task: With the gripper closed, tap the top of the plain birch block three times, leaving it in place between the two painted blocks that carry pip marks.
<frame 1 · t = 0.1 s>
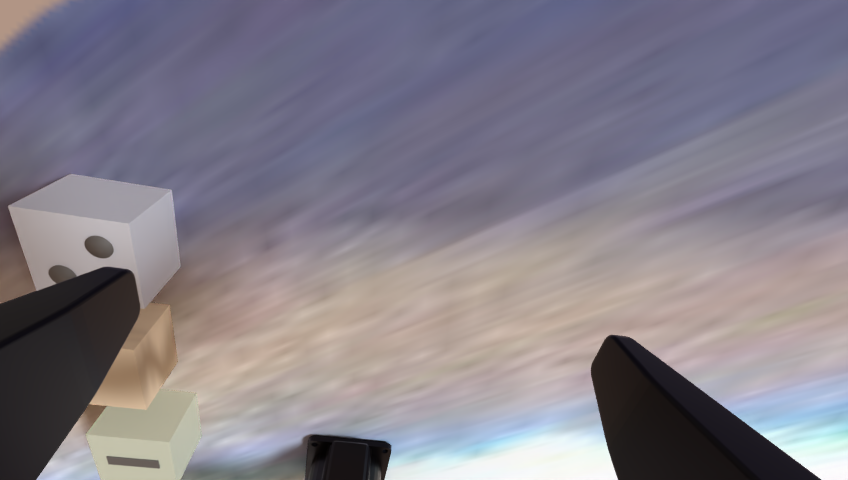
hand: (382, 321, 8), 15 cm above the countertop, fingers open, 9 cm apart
sage block one: (165, 410, 31), on the countertop
bluegrey block two: (130, 222, 23), on the countertop
birch block: (134, 328, 27), on the countertop
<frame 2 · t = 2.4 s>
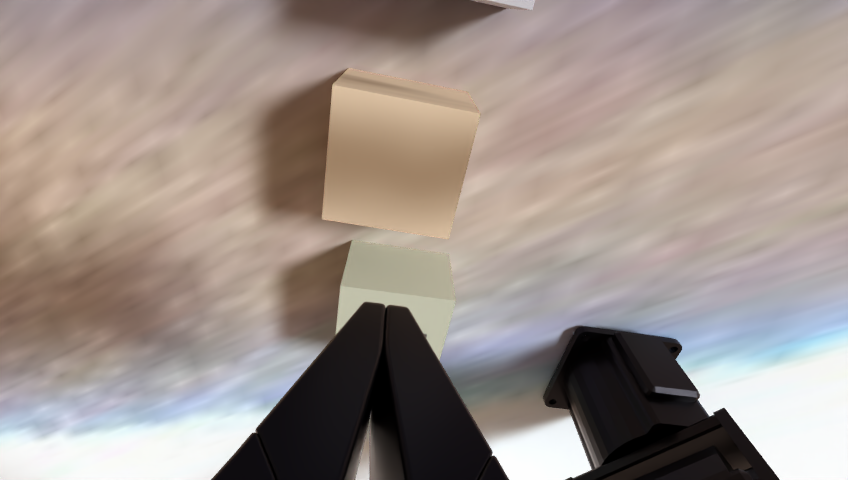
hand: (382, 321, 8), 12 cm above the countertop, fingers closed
sage block one: (394, 284, 23), on the countertop
birch block: (399, 137, 19), on the countertop
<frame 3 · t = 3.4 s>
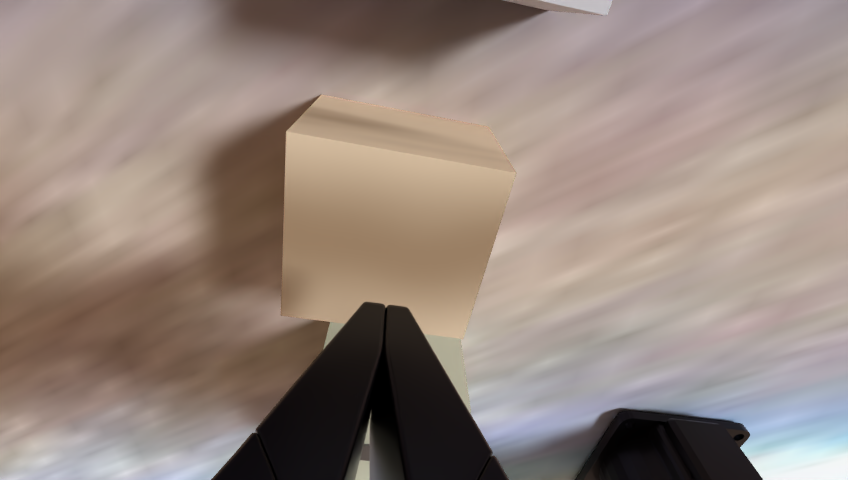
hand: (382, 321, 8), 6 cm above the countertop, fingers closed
sage block one: (388, 363, 18), on the countertop
birch block: (394, 186, 14), on the countertop
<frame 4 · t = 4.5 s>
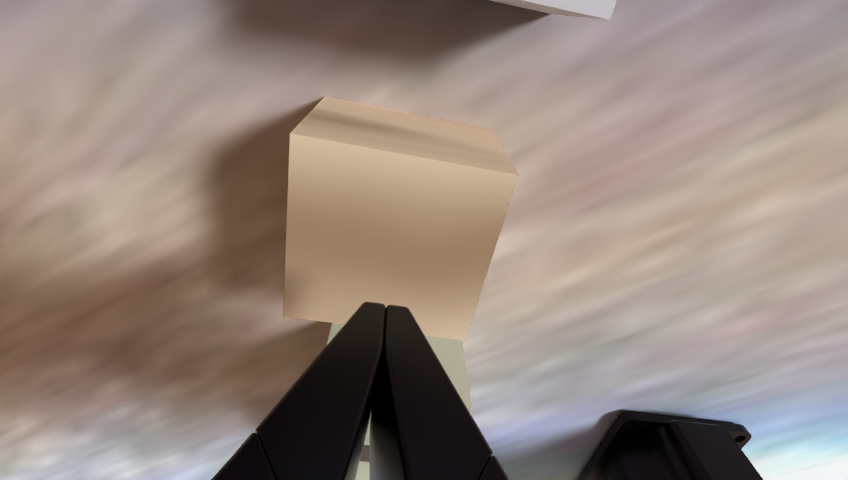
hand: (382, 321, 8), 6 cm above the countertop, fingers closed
sage block one: (390, 364, 18), on the countertop
birch block: (396, 188, 14), on the countertop
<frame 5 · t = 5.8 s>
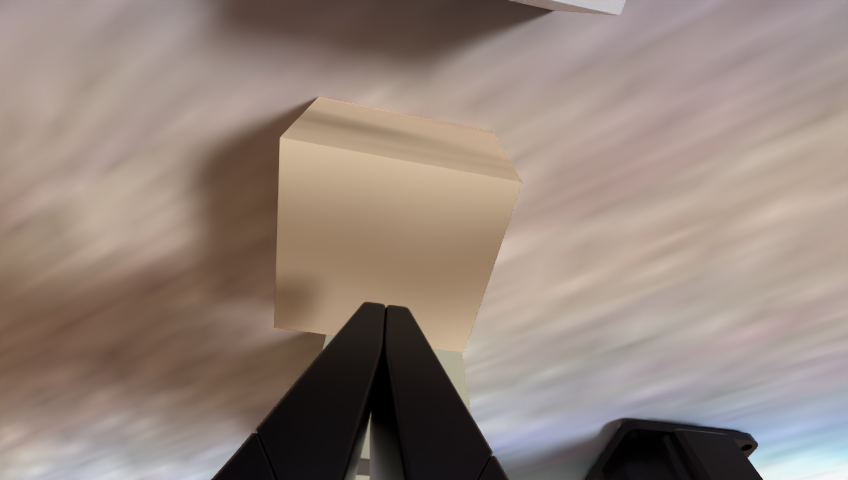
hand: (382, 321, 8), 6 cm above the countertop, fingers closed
sage block one: (387, 372, 17), on the countertop
birch block: (393, 192, 13), on the countertop
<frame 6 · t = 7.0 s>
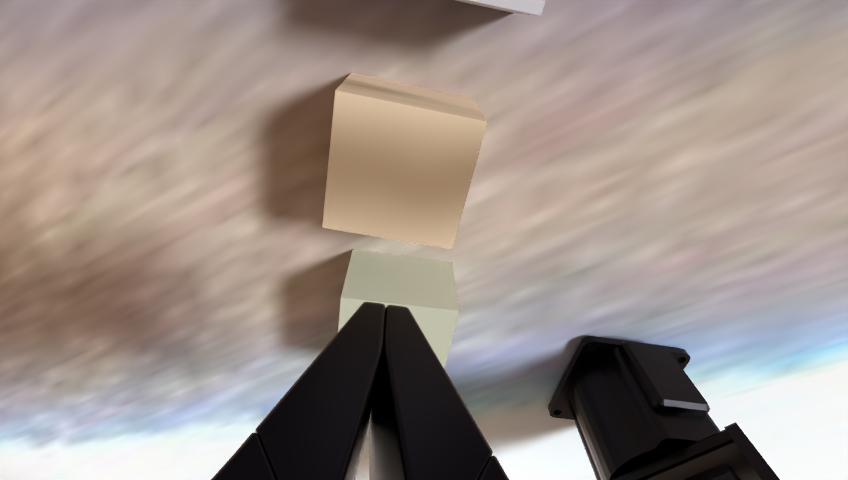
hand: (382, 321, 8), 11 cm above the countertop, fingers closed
sage block one: (396, 293, 22), on the countertop
birch block: (402, 144, 18), on the countertop
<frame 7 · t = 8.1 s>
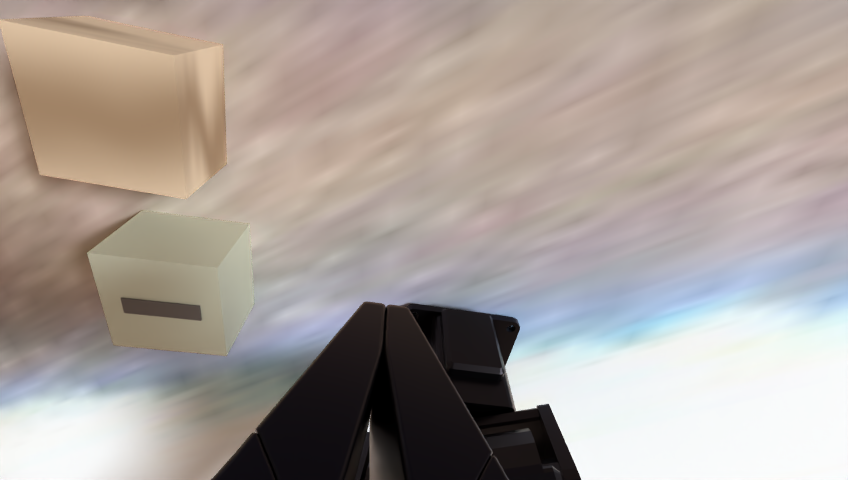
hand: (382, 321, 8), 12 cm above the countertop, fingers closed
sage block one: (203, 258, 21), on the countertop
birch block: (164, 95, 17), on the countertop
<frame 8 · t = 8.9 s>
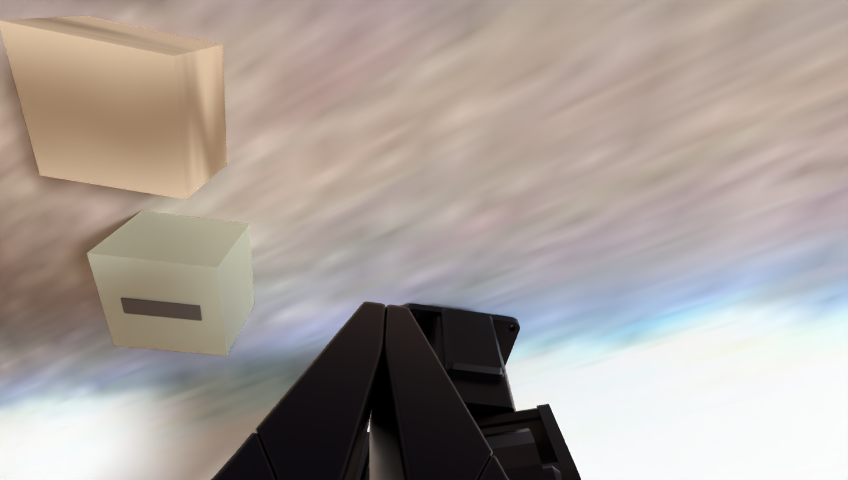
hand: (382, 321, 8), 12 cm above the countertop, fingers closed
sage block one: (203, 258, 21), on the countertop
birch block: (164, 95, 17), on the countertop
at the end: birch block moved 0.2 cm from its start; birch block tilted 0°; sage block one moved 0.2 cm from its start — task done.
